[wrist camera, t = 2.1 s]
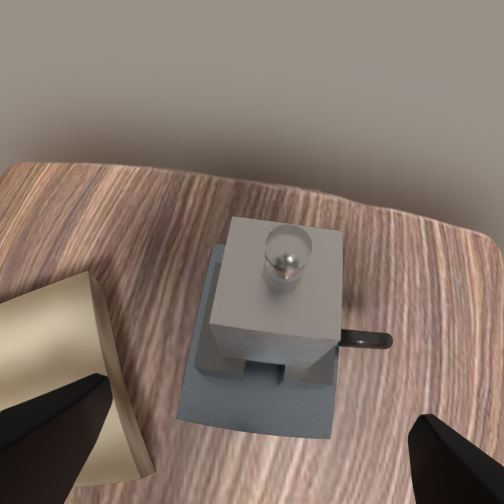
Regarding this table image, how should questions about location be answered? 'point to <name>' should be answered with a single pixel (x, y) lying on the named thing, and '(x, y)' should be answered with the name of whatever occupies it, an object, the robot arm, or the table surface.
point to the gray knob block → (278, 293)
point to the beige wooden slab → (72, 367)
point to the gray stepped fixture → (260, 381)
